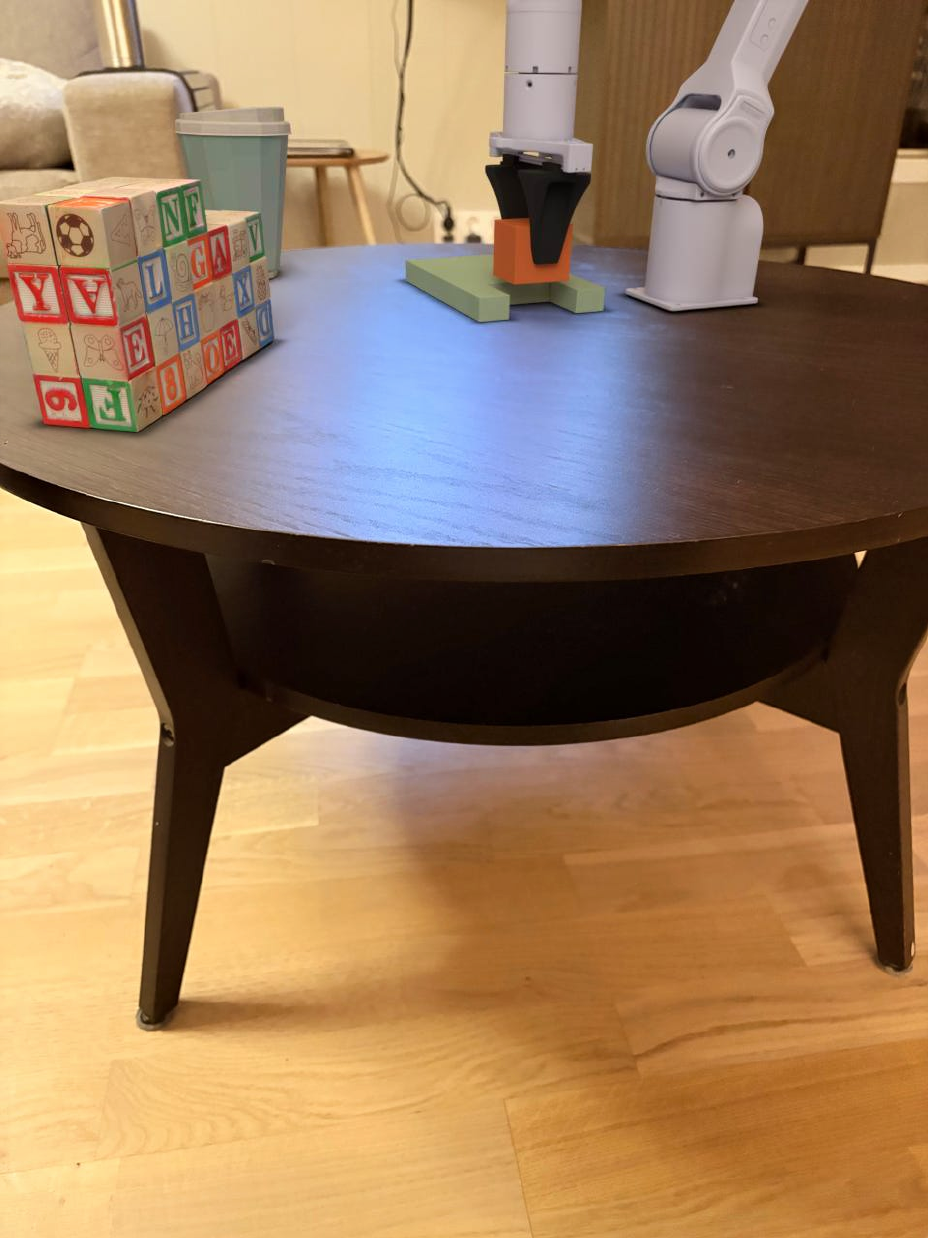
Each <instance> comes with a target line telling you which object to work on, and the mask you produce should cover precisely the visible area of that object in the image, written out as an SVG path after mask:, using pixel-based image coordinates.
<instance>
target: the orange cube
mask: <svg viewBox="0 0 928 1238" xmlns="http://www.w3.org/2000/svg"><path fill="white" fill-rule="evenodd" d="M493 227H494V228H493V254H494V257H493V275H494V276H496V277H499V278H501V279H503V280H505V281H508V282H510V283H512V284H514V285H519V284H532V283H545V282H558V281H569V275H570V274H571V259H572V243H573V229H574V224H573V223H570V225H569V228H568V231H567V234H566V238H565V241H564V245H563V248H562V252H561V255H560V258H559V261H558V263H555V264H540V265H537V264H534V263H533V259H532V254H531V245H530V222H529V218H519V219H501V218H499V219H494V223H493Z"/></svg>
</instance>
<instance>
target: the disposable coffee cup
mask: <svg viewBox="0 0 928 1238" xmlns="http://www.w3.org/2000/svg"><path fill="white" fill-rule="evenodd" d="M291 129H292V128H291V123H290V122H289V121H288V120H285V108H284V107H283V106H248V107H241V108H240V107H239V108H227V109H216V110H206V111H193V112H182V113H181V112H180V113H179V118H176V119H175V121H174V133H175V134H176V136H177V140H178V143H179V148H180V152H181V154H182V155H181V156H182V160H183V164H184V168H185V172H186V177H187V179H195V180H201V186H202V194H203V201H204V208H205V210H216V211H221V210H230V211H250V212H261V220H262V229H263V240H264V250H265V257H266V258H267V264H268V274H269V279H274V278H275V277H277V276H278V274H279V273H278V272H279V268H281V259H282V258H281V256H282V243H283V242H282V240H283V229H284V228H283V227H284V209H285V194H286V180H287V179H286V178H287V164H288V150H289V149H288V148H289V136H290V135H292V130H291Z"/></svg>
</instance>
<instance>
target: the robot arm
mask: <svg viewBox="0 0 928 1238" xmlns="http://www.w3.org/2000/svg"><path fill="white" fill-rule="evenodd" d="M808 3H809V0H734V1H733V3H732V4H731V7H730V10H729V12H728V14H727V16H726V18H725V20H724V22H723V25H722V27H721V29H720V31H719V33H718V36H717V38H716V40H715V42H714V44H713V46H712V48H711V51H710V53H709V55H708V57H707V60H706V61H705V62H704V63H703V64H702V65H701V66H700V67H699V68H697V70H696V71H695V72H693V74H691V75H690V76H689V77H688V78H687V79H686V80H685V81H684V82H683V83H682V84H681V85H680V87H679V90H678V93H677V94H676V96H675V98H674V100H673V101H672V103H671V104H670V105H669V106H668V107H667V109H666V110H664V111H663V112H662V113H661V114H660V115H659V116H658V117H657V118H656V120H655V121H654V122H653V124H652V125H651V127H650V129H649V132H648V135H647V138H646V143H645V159H646V163H647V166H648V168H649V170H650V172H651V173H652V175H653V176H654V177H655V184H654V185H655V186H654V193H655V194H654V198H653V206H652V215H651V224H650V233H649V245H648V251H647V253H648V254H647V262H646V263H647V264H646V271H645V272H646V273H645V282H644V286H641V287H630V288H629V287H628V288H626V289H625V291H624V292H625V295H627V296H630V297H632V298H635V299H638V300H641V301H643V302H644V303H645V302H646V303H648V304H651V305H653V306H655V307H659V308H661V309H663V310H666V311H669V312H679V311H680V312H681V311H691V310H702V309H712V308H721V307H722V308H724V307H733V306H744V305H745V306H746V305H754V304H757V303H758V300H759V298H758V297H756V296H754V289H755V283H756V277H757V272H758V265H759V259H760V253H761V247H762V241H763V235H764V217H763V212H762V209H761V206H760V204H759V202H757V200H755V199H754V198H753V197H752V196H750V195H747V194H743V189H744V188H745V187H746V186H747V185H748V184H749V183H750V182H751V181H752V180H753V178H754V177H755V175H756V174H757V172H758V169H759V168H760V165H761V162H762V158H763V153H764V145H765V137H766V134H767V130H768V128H769V125H770V123H771V121H772V119H773V117H774V115H775V107H774V104H773V101H772V98H771V94H770V91H769V88H768V85H769V83H770V81H771V79H772V77H773V74H774V72H775V70H776V68H777V66H778V65H779V62H780V60H781V58H782V56H783V55H784V52H785V50H786V47H787V46H788V44H789V42H790V40H791V38H792V36H793V34H794V31H795V30H796V27H797V26H798V23H799V22H800V20H801V17H802V15H803V13H804V10H805V9H806V7H807V5H808ZM582 11H583V0H506V5H505V35H504V36H505V39H504V40H505V41H504V42H505V43H504V70H503V71H504V75H503V77H504V78H503V107H502V108H503V109H502V131H489V138H488V146H489V154H488V155H489V157H491V158H501V160H500V161H499V164H498V163H497V164H496V163H495V164H486V165H485V166H484V171H485V173H484V174H485V175H486V177H487V179H488V181H489V183H490V186H491V188H492V191H493V193H494V196H495V199H496V203H497V207H498V209H499V210H498V211H499V215H500V219H519V218H529V222H530V245H531V254H532V259H533V263H534V264H537V265H540V264H555V263H558V261H559V258H560V255H561V252H562V248H563V245H564V241H565V238H566V234H567V231H568V228H569V225H570V224H571V222H572V219H573V217H574V214H575V211H576V210H577V207H578V205H579V203H580V201H581V199H582V198H583V195H584V194H585V192H586V190H587V189H588V187H589V186H590V184H591V181H592V173H591V172H592V168H593V167H592V166H593V165H592V164H593V153H594V144H593V143H591V142H590V143H589V142H585V141H583V140H582V139H581V140H580V139H579V138H576V137H574V135H575V123H576V121H575V120H576V105H577V89H578V76H579V74H578V73H579V59H580V57H579V55H580V43H581V42H580V41H581V26H582ZM528 153H537V154H538V155H533V154H528Z"/></svg>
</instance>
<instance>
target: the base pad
mask: <svg viewBox="0 0 928 1238" xmlns="http://www.w3.org/2000/svg"><path fill="white" fill-rule="evenodd" d="M493 257H494V253H492V254H478V255H461V256H448V257H445V256H444V257H430V258H417V259H406V260H405V282H407V283H408V284H411V285H412V286H413V287H416V288H418V289H419V290H421V291H423V292H424V293H427V294H428V295H429V296H432V297H433V298H435V299H437V300H439V301H440V302H442V303H444V304H446V305H448V306H450V307H451V308H453V309H454V310H457V311H458V312H461V313H462V314H464V315H465V316H467V317H469V318H470V319H473V320H474V321H476V322H478V323H487V322H498V321H509V320H510V307H511V306H512V305H513V306H515V305H525V304H536V303H547V302H549V303H552V304H554V305H556V306H559V307H561V308H563V309H565V310H567V311H570V312H572V313H573V314H586V313H597V312H604V308H605V297H606V287H605V286H602V285H599V284H598V283H594V282H592V281H589V280H587V279H585V278H582V277H580V276H577V275H575V274H571V273H570V275H569V281H558V282H545V283H532V284H519V285H514V284H512V283H510V282H508V281H505V280H503V279H501V278H499V277H496V276H494V275H493Z"/></svg>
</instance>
